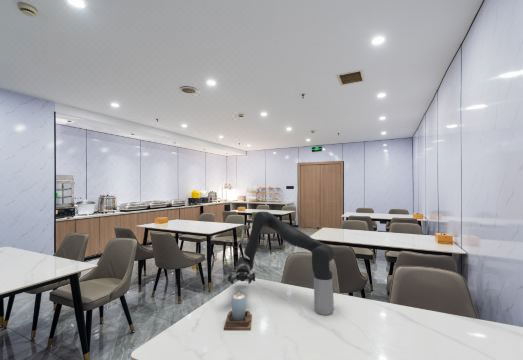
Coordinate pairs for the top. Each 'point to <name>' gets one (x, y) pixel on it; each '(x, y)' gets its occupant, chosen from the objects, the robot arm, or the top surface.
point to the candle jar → (239, 307)
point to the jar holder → (238, 322)
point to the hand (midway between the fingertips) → (240, 282)
